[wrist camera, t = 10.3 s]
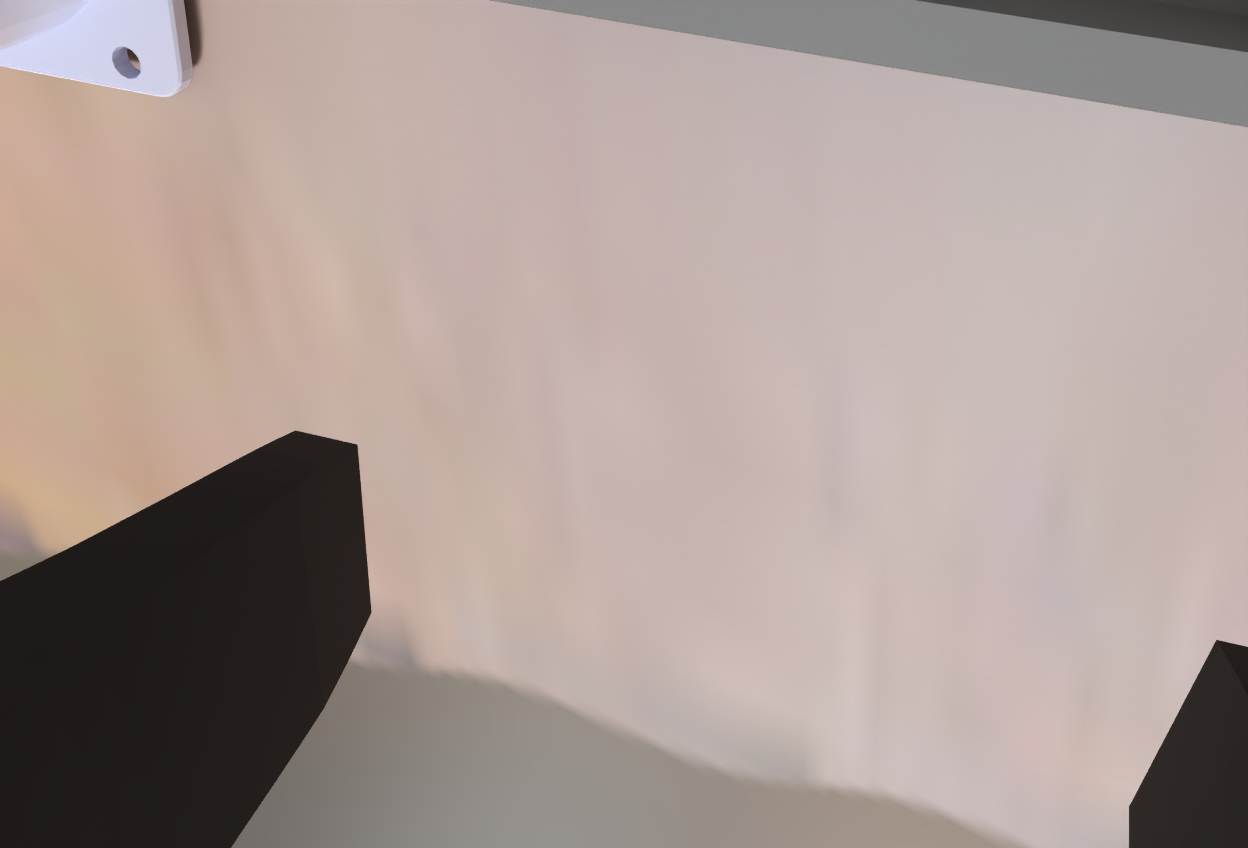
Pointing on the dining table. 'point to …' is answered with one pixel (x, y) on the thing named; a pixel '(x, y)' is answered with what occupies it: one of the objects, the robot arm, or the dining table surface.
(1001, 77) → the parts tray
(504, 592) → the dining table surface
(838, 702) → the dining table surface
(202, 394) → the dining table surface
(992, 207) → the dining table surface
